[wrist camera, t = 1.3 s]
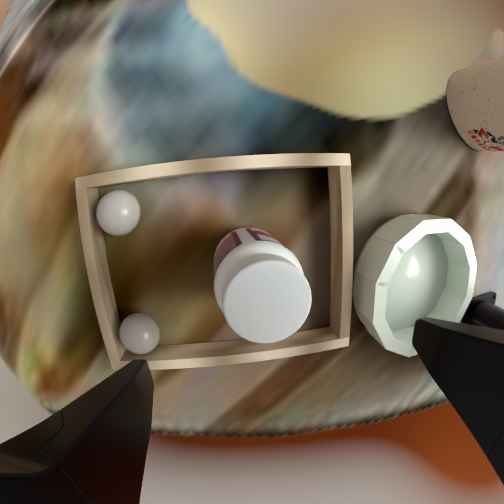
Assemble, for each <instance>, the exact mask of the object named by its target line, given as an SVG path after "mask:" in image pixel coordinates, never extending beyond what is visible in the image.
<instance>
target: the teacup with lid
mask: <svg viewBox="0 0 504 504" xmlns="http://www.w3.org/2000/svg"><path fill="white" fill-rule="evenodd" d="M446 97H447V104H448V109H449V112H450V115H451V118H452V121H453V123H454V125H455V127H456V129H457V131H458V133H459V134H460V136H461V137H462V138H463V140H464V141H465V142H466V143H467V144H468V145H469V146H470V147H472V148H473V149H475V150H477V151H482V152H484V151H504V56H500V57H497V58H494V59H491V60H488V61H485V62H482V63H479V64H476V65H473V66H470V67H467V68H464V69H461V70H459V71H456V72H454V73H453V74H452V75H451V76H450V78H449V80H448V83H447V89H446Z"/></svg>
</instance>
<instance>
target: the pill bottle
mask: <svg viewBox="0 0 504 504" xmlns="http://www.w3.org/2000/svg"><path fill="white" fill-rule="evenodd" d="M214 292H215V297H216V300H217V303H218V305H219V307H220V309H221V310H222V311H223V313H224V316H225V319H226V321H227V323H228V324H229V326H230V327H231V328H232V330H233V331H234V332H235V333H236V334H238V335H239V336H240V337H242V338H244V339H246V340H248V341H251V342H256V343H273V342H277V341H280V340H283V339H285V338H287V337H289V336H290V335H292V334H293V333H295V332H296V331H297V330H298V329H299V328H300V327H301V326H302V324H303V323H304V322H305V320H306V318H307V316H308V314H309V311H310V307H311V301H312V297H311V289H310V286H309V283H308V281H307V279H306V278H305V276H304V274H303V270H302V267H301V265H300V263H299V261H298V259H297V258H296V256H295V255H294V254H293V253H292V252H291V251H290V250H289V249H287V248H286V247H285V246H283V245H282V244H281V243H279V242H278V241H277V240H276V239H274V238H273V237H272V236H271V235H270V234H268V233H267V232H265V231H263V230H261V229H258V228H253V227H243V228H239V229H236V230H233V231H232V232H230V233H228V234H227V235H226V236H225V237H224V238H223V239H222V240H221V241H220V243H219V244H218V246H217V248H216V251H215V255H214Z"/></svg>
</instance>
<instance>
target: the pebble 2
mask: <svg viewBox="0 0 504 504" xmlns="http://www.w3.org/2000/svg"><path fill="white" fill-rule="evenodd" d="M119 336H120V340H121V342H122V344H123V345H124V347H125V348H126V349H127V350H129V351H130V352H132V353H135V354H146V353H149V352H151V351H152V350H153V349H154V348H155V347H156V346H157V344H158V342H159V338H160V331H159V328H158V325H157V323H156V322H155V321H154V320H153V319H152V318H151V317H150V316H148V315H146V314H143V313H134V314H131V315H129V316H127V317H126V318H125V319H124V320H123V322H122V323H121V326H120V330H119Z"/></svg>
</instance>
